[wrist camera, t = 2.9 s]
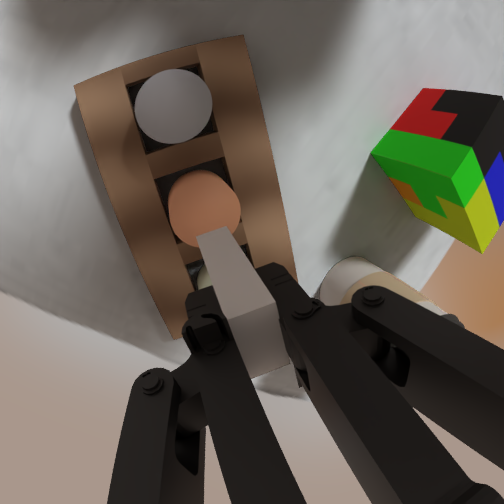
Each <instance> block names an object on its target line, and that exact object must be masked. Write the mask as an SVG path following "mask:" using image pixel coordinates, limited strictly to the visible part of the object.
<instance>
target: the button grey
mask: <svg viewBox="0 0 504 504" xmlns="http://www.w3.org/2000/svg"><path fill="white" fill-rule="evenodd" d="M211 112H212V97H211V93H210V90H209V88H208V86H207V85H206V83H205V82H204V81H203V80H202V79H201V78H200V77H199V76H197V75H196V74H194V73H192V72H190V71H186V70H182V69H170V70H165V71H162V72H159V73H157V74H155V75H154V76H152V77H151V78H149V79H148V80H147V81H146V82H145V83H144V84H143V86H142V87H141V89H140V90H139V92H138V95H137V98H136V102H135V115H136V119H137V122H138V124H139V126H140V128H141V129H142V130H143V132H144V133H145V134H146V135H148V136H149V137H150V138H152V139H154V140H156V141H158V142H162V143H168V144H175V143H181V142H185V141H187V140H189V139H191V138H193V137H195V136H196V135H197V134H198V133H200V132H201V131H202V130H203V128H204V127H205V126H206V124H207V123H208V121H209V118H210V116H211Z"/></svg>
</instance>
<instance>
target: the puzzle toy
mask: <svg viewBox="0 0 504 504" xmlns="http://www.w3.org/2000/svg"><path fill="white" fill-rule="evenodd" d="M371 154H372V156H373V157H374V158H375V160H376V161H377V162H378V164H379V165H380V166H381V168H382V169H383V170H384V172H385V173H386V175H387V176H388V177H389V179H390V180H391V181H392V183H393V184H394V186H395V187H396V189H397V190H398V191H399V193H400V194H401V196H402V197H403V199H404V200H405V202H406V203H407V205H408V206H409V208H410V209H411V211H412V212H413V214H414V215H415V217H417V218H419V219H421V220H423V221H425V222H426V223H428V224H430V225H432V226H434V227H436V228H438V229H439V230H441V231H443V232H445V233H447V234H449V235H450V236H452V237H454V238H456V239H457V240H459V241H461V242H463V243H465V244H466V245H468V246H469V247H471V248H473V249H475V250H476V251H478V252H480V253H481V254H483V252H484V251H485V249H486V248H487V246H488V244H489V243H490V241H491V240H492V238H493V237H494V235H495V233H496V232H497V230H498V229H499V227H500V226H501V224H502V222H503V221H504V100H503V97H502V96H498V95H491V94H484V93H476V92H467V91H457V90H445V89H429V88H423V89H422V90H421V91H420V93H419V94H418V95H417V96H416V98H415V99H414V100H413V101H412V103H411V104H410V105H409V106H408V108H407V109H406V110H405V111H404V113H403V114H402V115H401V116H400V117H399V119H398V120H397V121H396V122H395V124H394V125H393V126H392V127H391V128H390V130H389V131H388V132H387V133H386V135H385V136H384V137H383V138H382V139H381V141H380V142H379V143H378V144H377V145H376V147H375V148H374V149H373V150H372V151H371Z"/></svg>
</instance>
